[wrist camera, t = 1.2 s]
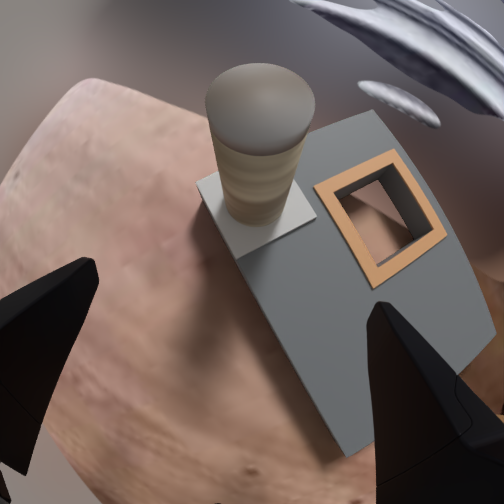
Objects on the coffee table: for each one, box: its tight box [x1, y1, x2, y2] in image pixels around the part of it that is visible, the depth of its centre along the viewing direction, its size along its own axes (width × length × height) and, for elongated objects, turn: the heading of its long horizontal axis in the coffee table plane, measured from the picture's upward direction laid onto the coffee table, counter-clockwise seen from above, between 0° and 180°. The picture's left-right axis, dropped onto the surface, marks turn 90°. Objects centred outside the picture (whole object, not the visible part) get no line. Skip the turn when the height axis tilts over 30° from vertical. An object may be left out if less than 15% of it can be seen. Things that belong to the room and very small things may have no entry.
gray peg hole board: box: [195, 110, 497, 457], centre depth 20 cm, size 22×16×3 cm
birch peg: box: [205, 63, 315, 227], centre depth 15 cm, size 4×4×10 cm
